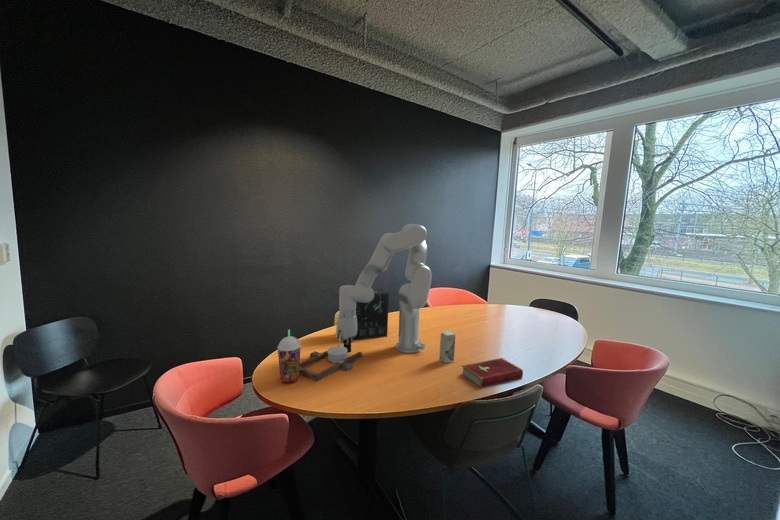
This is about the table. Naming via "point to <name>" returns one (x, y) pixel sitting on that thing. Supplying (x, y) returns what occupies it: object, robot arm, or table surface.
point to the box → (447, 347)
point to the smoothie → (289, 359)
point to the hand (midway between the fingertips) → (347, 351)
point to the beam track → (341, 364)
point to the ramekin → (337, 354)
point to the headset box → (373, 316)
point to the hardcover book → (492, 372)
